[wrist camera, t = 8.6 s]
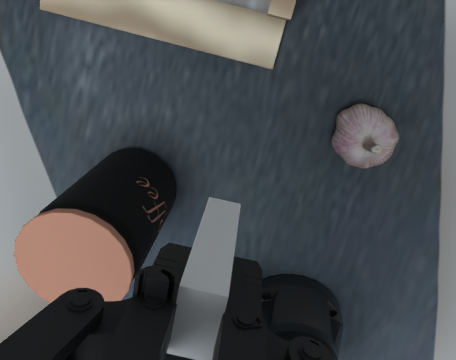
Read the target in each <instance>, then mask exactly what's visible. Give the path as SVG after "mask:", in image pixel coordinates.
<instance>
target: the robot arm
mask: <svg viewBox="0 0 456 360" xmlns="http://www.w3.org/2000/svg"><path fill="white" fill-rule="evenodd" d="M240 207H241V204H239V203H234V202H230V201H225V200H221V199H217V198H212V197H209V199H208V202H207V205H206V208H205V211H204V214H203V217H202V220H201V223H200V226H199V229H198V232H197V235H196V238H195V241H194V244H193V247H192V248H190V247H186V246H181V245H177V244H172V243H168V244H167V245H165V246H164V247H163V248H161V249H160V251H159V254H158V256H157V258H156V260H155V262H154V264H153V266H148V267H145V268H143V269H141V270H139V271H138V272H137V274H136V276H135V283H134V291H133V297H131V298H129V299H126V300H122V301H104V298H103V296H102V295H101V293H99V292H98V291H96V290H94V289H90V288H76V289H72V290H68V291H67V292H65V293H63V294H61V295H60V296H59V297H58V298H56V299H55V300H54V301H53V302H51V303H50V304H49V305H48V306H47V307H45V308H44V309H43V310H42V311H40V312H39V313H38V314H37V315H35V316H34V317H33V318H32V319H30V320H29V321H28V322H26V323H25V324H24V325H23V326H22V327H20V328H19V329H18V330H17V331H15V332H14V333H13V334H12V335H10V336H9V337H8V338H7V339H5V340H4V341H3V342H2V343H0V360H338V353H339V348H340V342H341V337H342V330H343V323H342V317H341V313H340V309H339V305H338V303H337V301H336V299H335V297H334V296H333V295H332V293H331V292H330V291H329V290H328V289H327V288H325V287H324V286H323V285H321V284H320V283H318V282H316V281H314V280H312V279H309V278H306V277H302V276H297V275H278V276H273V277H269V278H266V279H263V280H262V269H261V268H260V266H259V264H258V263H257V262H256V261H252V260H247V259H243V258H238V257H234V252H235V244H236V237H237V229H238V222H239V214H240Z"/></svg>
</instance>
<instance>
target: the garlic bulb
mask: <svg viewBox="0 0 456 360" xmlns="http://www.w3.org/2000/svg"><path fill="white" fill-rule="evenodd" d="M336 123H337V125H336V131H335V133H334V135H333V137H332V147H333V149H334V151H335V152H336V153H337V154H339V155H340V156H341V157H342V158H343V160H344V161H345V162H346V163H347V164H349V165H351V166H357V167H359V168H370V167H373V166H377V165H381V164H383V163H384V162H385V161H386V160H388V159H389V158H390V157H391V156H392V154H393V151H394V148H395V146H396V144H397V143H398V141H399V133H398V132H397V130H396V126H395V123H394V122H393V120H392V119H391V118H389V117H387V116H386V114H385V113H384V112H383V111H382V110H381V109H379V108H376V107H370V106H369V105H367V104H362V103H359V104H355V105H353V106H351V107H350V108H348V109H344V110H342V111H341V112H340V113H339V114H338V115H337V118H336Z"/></svg>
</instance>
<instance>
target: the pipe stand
mask: <svg viewBox="0 0 456 360" xmlns="http://www.w3.org/2000/svg"><path fill="white" fill-rule="evenodd" d="M295 3H296V0H40V9H41V10H45V11H49V12H53V13H57V14H61V15H64V16H68V17H72V18H76V19H80V20H84V21H88V22H91V23H95V24H99V25H103V26H107V27H111V28H115V29H118V30H122V31H126V32H130V33H134V34H138V35H142V36H145V37H149V38H153V39H157V40H161V41H165V42H169V43H172V44H176V45H180V46H184V47H188V48H192V49H196V50H200V51H203V52H207V53H211V54H215V55H219V56H223V57H227V58H230V59H234V60H238V61H242V62H246V63H250V64H254V65H257V66H261V67H265V68H269V69H273V66H274V62H275V59H276V55H277V52H278V48H279V44H280V41H281V37H282V33H283V30H284V26H285V23H286V20H291V17H292V14H293V10H294V7H295Z"/></svg>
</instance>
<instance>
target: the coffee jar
mask: <svg viewBox="0 0 456 360" xmlns="http://www.w3.org/2000/svg"><path fill="white" fill-rule="evenodd" d="M175 196H176V195H175V183H174V181H173V179H172V176H171V174H170V171H169V170H168V169H167V168H166V166H165V165H164V164H163V163H162V162H161V161H160V160H159V159H157V158H156V157H154V156H153V155H151V154H149V153H146V152H143V151H140V150H132V149H123V150H120V151H117V152H114V153H111V154H110V155H109V156H107V157H106V158H105V159H104V160H102V161H101V162H100V163H99V164H97V165H96V166H95V167H94V168H93V169H91V170H90V171H89V172H88V173H87V174H85V175H84V176H83V177H82V178H80V179H79V180H78V181H77V182H76V183H74V184H73V185H72V186H71V187H70V188H68V189H67V190H66V191H65V192H64V193H62V194H61V195H60V196H59V197H57V198H56V199H55V200H54V201H53V202H51V203H50V204H49V205H48V206H47V207H45V208H44V209H43V210H42V211H41V212H40V213H39V215H37V216H36V217H34V218H33V219H32V220H30V221H29V222H28V223H27V224H25V225H24V226H23V227H22V229H21V231H20V233H19V235H18V236H17V238H16V240H15V252H14V256H15V260H16V264H17V267H18V270H19V273H20V274H21V276H22V277H23V279H24V280H25V282H26V283H27V285H28V286H29V287H30V288H31V289H32V290H33V291H34V292H35V293H36V294H37V295H38V296H40V297H41V298H42V299H44V300H46V301H47V302H49V303H51V302H53V301H54V300H55V299H56V298H58V297H59V296H60V295H61V294H63V293H65V292H67V291H68V290H72V289H76V288H90V289H94V290H96V291H98V292H99V293H101V295H102V296H103V298H104V301H121V300H122V299H123V298H124V296H125V295H126V294H127V292H128V291H129V289H130V287H131V283H132V280H133V279H134V278H135V276H136V274H137V272H138V271H139V270H140V268H141V267H142V265H143V263H144V261H145V259H146V257H147V255H148V253H149V251H150V249H151V247H152V245H153V243H154V241H155V239H156V237H157V235H158V234H159V232H160V230H161V228H162V226H163V224H164V222H165V220H166V218H167V216H168V214H169V212H170V210H171V208H172V206H173V203H174V199H175Z"/></svg>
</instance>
